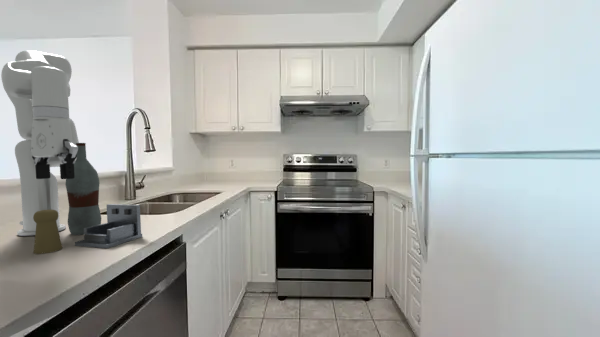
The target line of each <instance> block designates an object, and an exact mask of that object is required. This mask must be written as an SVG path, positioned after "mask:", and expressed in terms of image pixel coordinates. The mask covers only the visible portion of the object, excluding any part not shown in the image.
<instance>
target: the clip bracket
mask: <svg viewBox="0 0 600 337" xmlns="http://www.w3.org/2000/svg"><path fill="white" fill-rule="evenodd" d="M106 221H107V222H104V223H101V224H100V225H95V226H91V227H87V228H84V234H83V239H80V240H78V241H74V246H77V247H87V248H97V249H98V248H100V249H110V248H112V247H116V246H118V245H121V244H125V243H128V242H130V241H133V240H137V239H140V238H142V237H143V233H142V223H141V222H142V220H141V204H122V203H120V204H118V203H117V204H116V203H109V204H106Z"/></svg>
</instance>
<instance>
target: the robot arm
mask: <svg viewBox="0 0 600 337" xmlns="http://www.w3.org/2000/svg"><path fill="white" fill-rule="evenodd" d="M14 60H15V61H8V62H7V63H5V64H4V65H3V67H2V69H1V74H0V75H1V84H2V87H3V89H4V92H5V93H6V95H7V97H8V98H9V100H10V102H11V104H12V105H13V106H14V109H15V110H14V111H15V118H16V123H17V130H18V131H17V132H18V134H19V136H20V137H21V138H22V139H24V140H21V141H19V142H17V144H16V145H15V147H14V155H15V159H16V163H17V167H18V172H19V173H18V174H19V181H20V193H21V211H22V220H21V221H20V222H19V225H20V226H22V228H21V229H19V230H17V231H16V232H17V236H20V237H28V236H29V237H31V236H35V233H36V224H37V223H36V222H34V219H33V216H34V214H35V213H36V212H37V211H41V210H48V209H51V210H56V211H57V212H58V215H59V216H58V219H57V220H56V222H57V227H58V231H59V232H60V231H63V230H65V229H66V224H62V223H61V222H60V221H61V220H60V203H59V188H58V179H57V177H56V176H55V175H54V174H53V173H52V172H51V168H56V167H57V168H58V167H59V172H60V173H59V175H60V176H59V177H60V179H61V180H66V179H73V178H74V177H75V176H74V163H75V161H76V159H77V151H78V147H77V146H76V143H80V142H79V137H78V134H77V128H76V125H75V124H76V123H75V122H74V121H73V120H72V118H71V117H70V107H69V97H71V86H70V82H71V81H70V80H71V77H72V65H71V63H70V61H69V60H68V59H67V58H66V57H65V56H62V55H58V54H54V53H47V52H43V51H37V50H22V51H20V52H18V53H17V54H16V56H15V59H14Z"/></svg>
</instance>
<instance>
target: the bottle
mask: <svg viewBox="0 0 600 337" xmlns="http://www.w3.org/2000/svg"><path fill="white" fill-rule="evenodd" d="M86 145H87V143H86V142H79V143H76V146H77V147H78V151H77V159H76V161H75V163H74V176H75V177H74V178H73V179H65V190H66V194H67V195H66V196H67V200H68V214H67V226H68V231H69V233H70V235H72V236H80V235H83V236H84V228H87V227H91V226H95V225H100V224H102V215H101V209H100V205H99V202H100V200H99V199H100V198H99V197H100V177H99V173H98V171H97V170H96V168H95V167H94V166H93V165H92V164H91V163H90V161H89V160H88V159H87V149H86V148H87V146H86Z"/></svg>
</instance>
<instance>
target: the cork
mask: <svg viewBox="0 0 600 337" xmlns="http://www.w3.org/2000/svg"><path fill="white" fill-rule="evenodd" d="M58 216H59V217H60V214H59V215H58V212H57V211H56V210H51V209H48V210H41V211H37V212H36V213H35V214H34V216H33V219H34V222H36V223H37V224H36V233H35V235H34V241H33V242H34V243H33V252H32V253H33V254H35V255H42V254H50V253H53V252H58V251H60V250H62V249H63V246H62V245H63V244H62V241H61V240H62V239H61V236H60V231H58V227H57V222H56V220H57V219H58Z"/></svg>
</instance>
